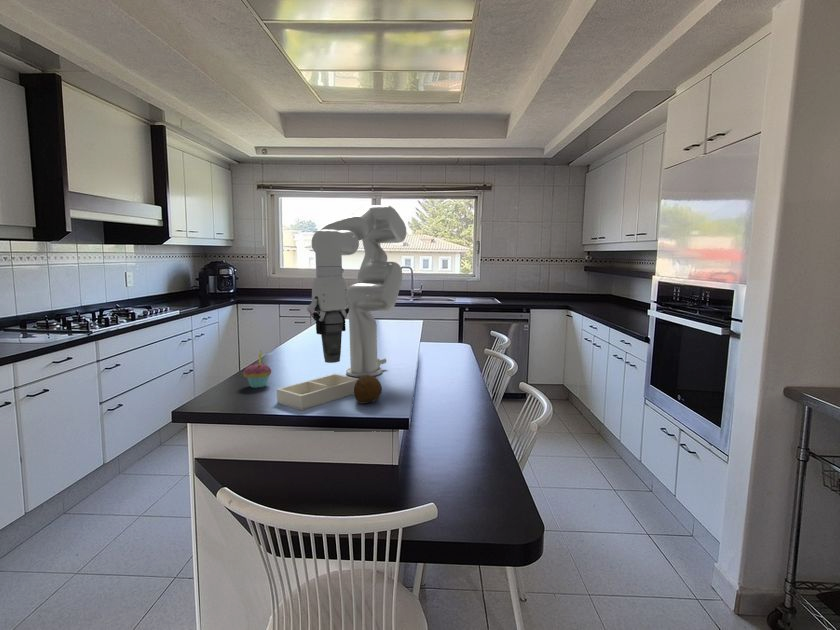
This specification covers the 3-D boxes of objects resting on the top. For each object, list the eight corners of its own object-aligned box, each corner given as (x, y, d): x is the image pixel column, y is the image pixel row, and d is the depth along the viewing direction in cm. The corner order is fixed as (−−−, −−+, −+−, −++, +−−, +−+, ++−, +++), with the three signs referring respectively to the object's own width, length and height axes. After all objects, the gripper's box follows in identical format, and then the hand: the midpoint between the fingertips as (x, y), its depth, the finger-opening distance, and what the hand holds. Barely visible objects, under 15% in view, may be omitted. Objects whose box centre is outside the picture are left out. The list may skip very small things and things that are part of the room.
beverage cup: (339, 364, 138) (337, 295, 135) (316, 363, 139) (313, 295, 137) (348, 358, 145) (346, 293, 142) (325, 358, 146) (323, 293, 144)
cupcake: (277, 383, 154) (275, 347, 153) (258, 390, 147) (256, 352, 145) (257, 381, 158) (255, 345, 156) (237, 387, 150) (235, 350, 149)
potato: (376, 394, 141) (376, 369, 140) (387, 406, 130) (387, 379, 129) (349, 397, 139) (348, 371, 138) (358, 410, 127) (357, 382, 126)
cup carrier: (335, 385, 151) (334, 373, 151) (359, 391, 144) (359, 379, 144) (277, 402, 134) (276, 389, 134) (301, 410, 127) (301, 396, 127)
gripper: (342, 271, 148) (344, 327, 150) (296, 273, 134) (299, 335, 136) (359, 271, 143) (361, 329, 145) (313, 273, 130) (316, 337, 132)
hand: (331, 332), depth 141 cm, fingers closed on beverage cup, 7 cm apart
